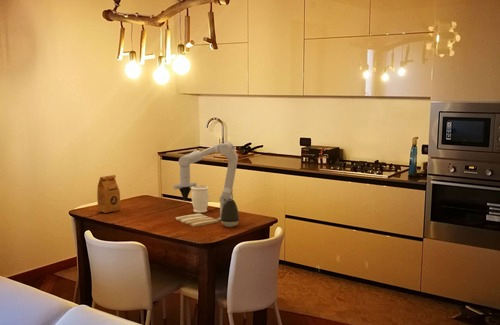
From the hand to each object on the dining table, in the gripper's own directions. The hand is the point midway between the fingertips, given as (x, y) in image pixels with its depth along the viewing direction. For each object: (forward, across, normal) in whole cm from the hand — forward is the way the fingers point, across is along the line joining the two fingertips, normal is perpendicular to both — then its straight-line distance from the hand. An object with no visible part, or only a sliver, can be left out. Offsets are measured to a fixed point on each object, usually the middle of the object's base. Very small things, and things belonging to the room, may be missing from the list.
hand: (185, 200), depth 299 cm
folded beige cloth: (+10, -1, +16) cm, 19 cm away
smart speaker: (+11, -9, +30) cm, 33 cm away
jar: (+11, -16, -8) cm, 21 cm away
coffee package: (+11, +27, -42) cm, 51 cm away
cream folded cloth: (+10, -1, +5) cm, 12 cm away
